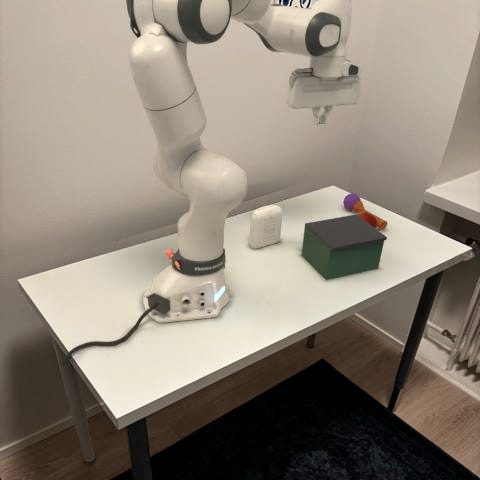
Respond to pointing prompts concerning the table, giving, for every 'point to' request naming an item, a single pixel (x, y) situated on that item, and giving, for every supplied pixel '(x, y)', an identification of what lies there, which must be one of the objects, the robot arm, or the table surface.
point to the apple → (368, 218)
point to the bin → (340, 257)
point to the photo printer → (265, 226)
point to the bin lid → (345, 232)
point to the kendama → (361, 208)
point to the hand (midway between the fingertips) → (320, 123)
